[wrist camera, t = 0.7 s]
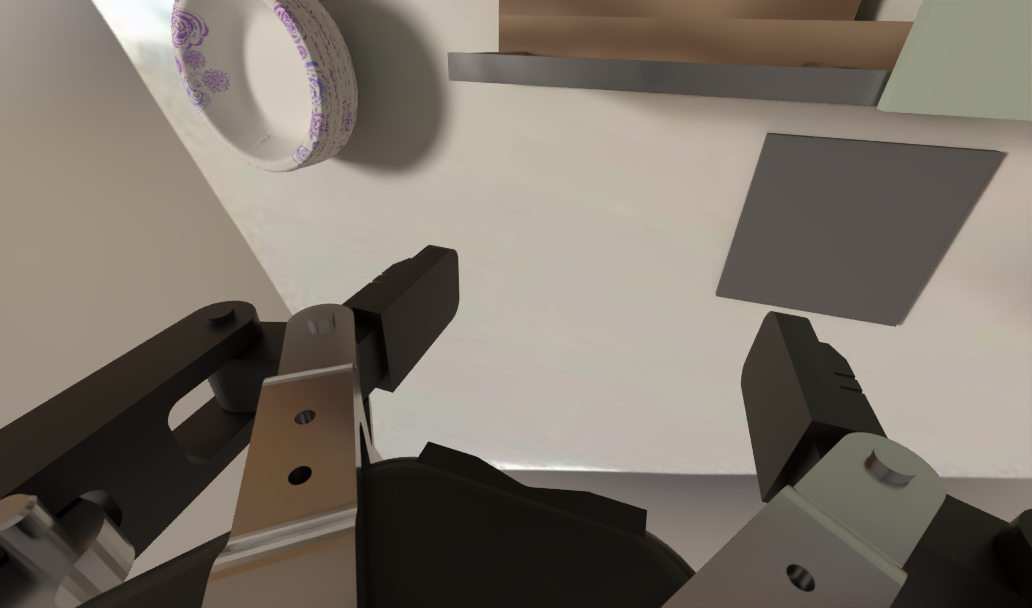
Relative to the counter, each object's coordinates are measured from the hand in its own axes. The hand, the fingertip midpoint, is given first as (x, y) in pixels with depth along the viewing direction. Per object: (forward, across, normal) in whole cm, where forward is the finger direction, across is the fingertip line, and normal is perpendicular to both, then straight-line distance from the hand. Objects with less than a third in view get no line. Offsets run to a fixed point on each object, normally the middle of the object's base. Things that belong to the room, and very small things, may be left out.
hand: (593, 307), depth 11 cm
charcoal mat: (+28, -16, +6) cm, 33 cm away
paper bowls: (+29, +33, -2) cm, 43 cm away
